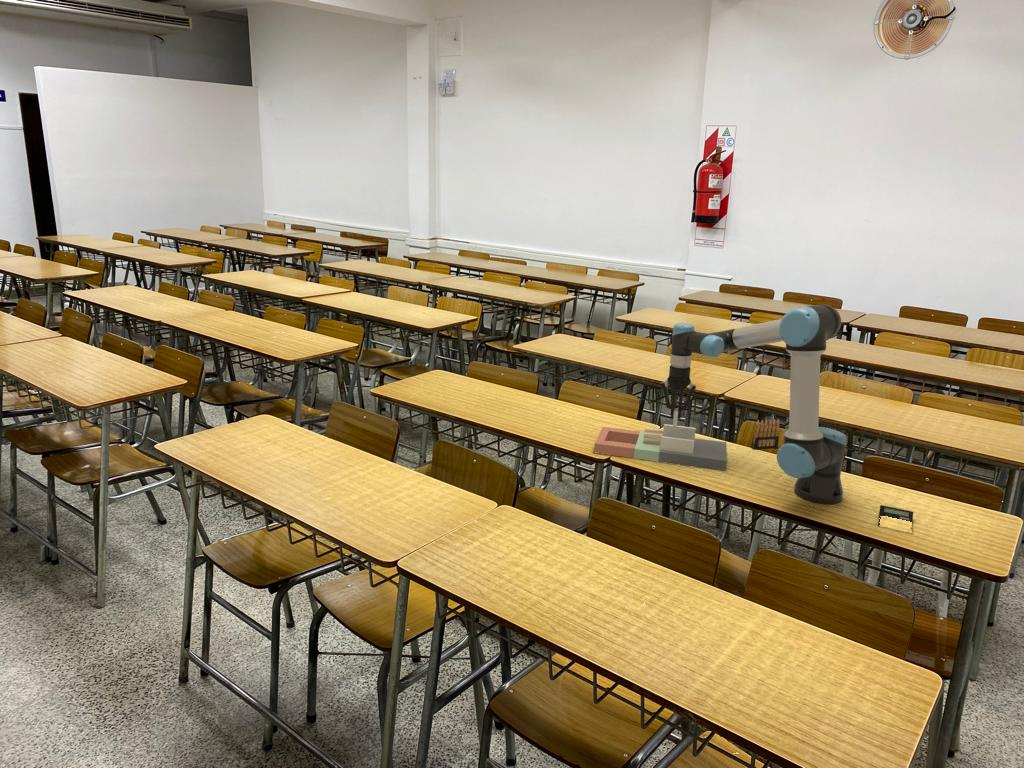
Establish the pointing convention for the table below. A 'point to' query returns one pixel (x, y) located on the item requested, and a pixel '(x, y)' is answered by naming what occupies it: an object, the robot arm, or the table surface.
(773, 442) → the ammunition clip
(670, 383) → the robot arm
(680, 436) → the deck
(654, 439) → the block
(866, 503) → the table surface
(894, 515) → the calculator
